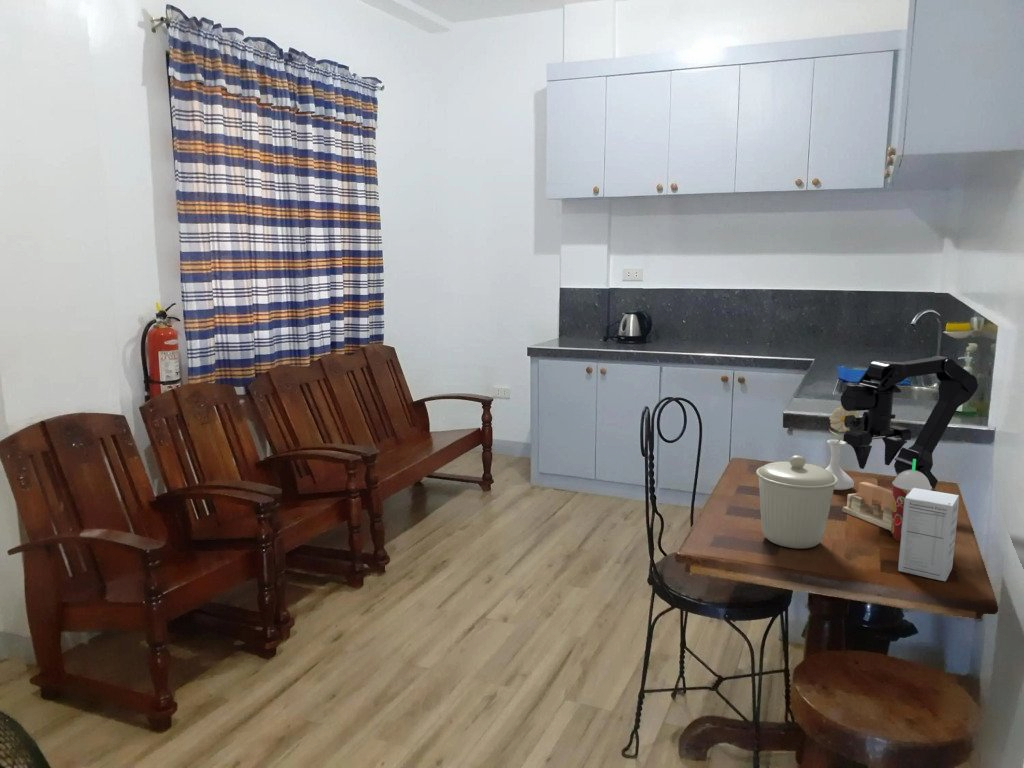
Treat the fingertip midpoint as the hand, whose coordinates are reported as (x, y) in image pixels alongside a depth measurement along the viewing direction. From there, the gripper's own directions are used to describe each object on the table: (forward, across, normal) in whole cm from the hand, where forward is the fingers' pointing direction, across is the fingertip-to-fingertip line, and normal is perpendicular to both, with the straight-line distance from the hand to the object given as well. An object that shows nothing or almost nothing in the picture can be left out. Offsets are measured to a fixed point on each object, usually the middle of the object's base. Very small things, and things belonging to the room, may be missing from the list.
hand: (874, 466), depth 200 cm
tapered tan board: (+9, +4, +6) cm, 11 cm away
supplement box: (+12, +21, +33) cm, 41 cm away
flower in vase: (+12, -6, -18) cm, 23 cm away
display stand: (+12, +4, +6) cm, 14 cm away
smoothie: (+12, +9, +19) cm, 24 cm away
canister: (+12, +36, +9) cm, 39 cm away
